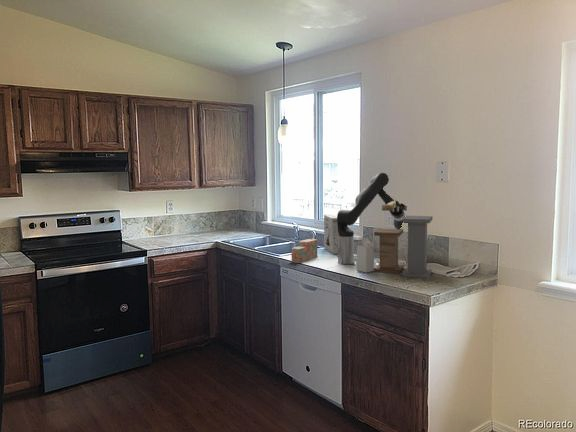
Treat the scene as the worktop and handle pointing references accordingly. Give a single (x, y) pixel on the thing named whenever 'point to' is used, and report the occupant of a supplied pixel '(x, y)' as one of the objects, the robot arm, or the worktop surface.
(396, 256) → the walnut stand
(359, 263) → the milk carton
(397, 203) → the robot arm
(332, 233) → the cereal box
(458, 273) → the worktop surface
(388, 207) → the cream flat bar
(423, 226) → the charcoal pedestal
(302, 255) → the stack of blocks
